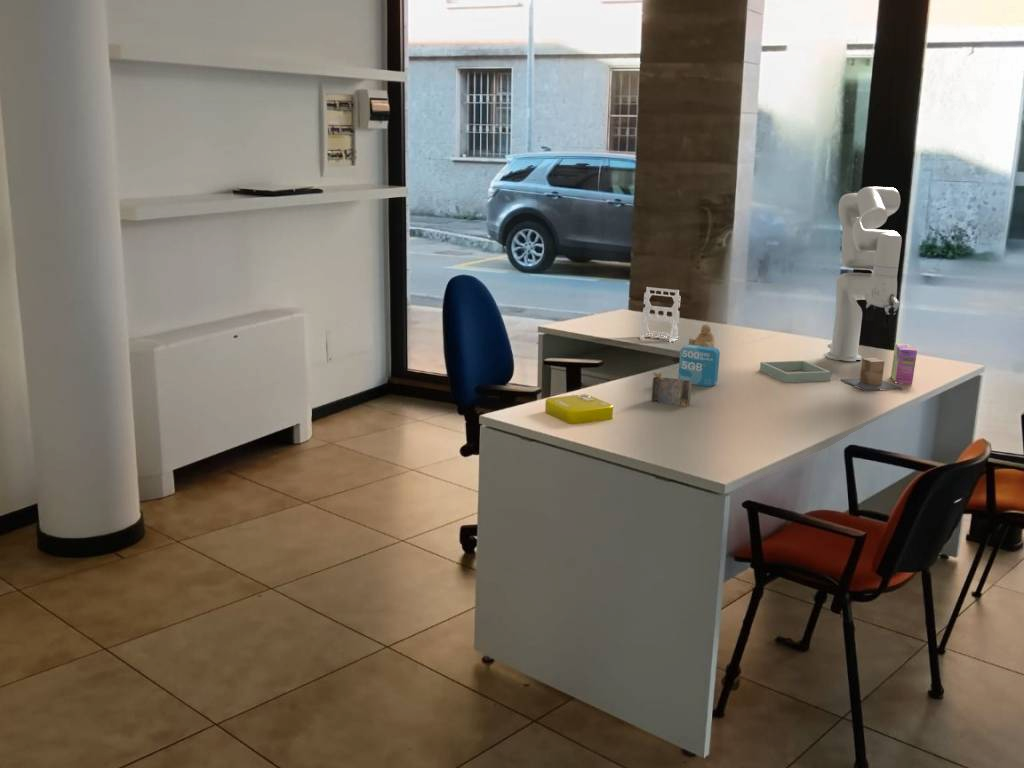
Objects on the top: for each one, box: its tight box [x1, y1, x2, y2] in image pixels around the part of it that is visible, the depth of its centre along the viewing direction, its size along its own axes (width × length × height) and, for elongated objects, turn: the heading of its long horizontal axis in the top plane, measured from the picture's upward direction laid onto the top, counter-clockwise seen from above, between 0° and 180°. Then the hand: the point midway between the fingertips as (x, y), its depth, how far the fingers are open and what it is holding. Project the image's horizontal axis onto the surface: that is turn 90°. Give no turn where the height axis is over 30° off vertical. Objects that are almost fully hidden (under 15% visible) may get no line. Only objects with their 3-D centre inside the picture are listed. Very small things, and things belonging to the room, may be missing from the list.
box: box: [890, 342, 918, 385], centre depth 356 cm, size 10×6×12 cm, turn 168°
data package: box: [677, 344, 721, 387], centre depth 342 cm, size 12×4×12 cm, turn 65°
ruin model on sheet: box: [650, 372, 693, 407], centre depth 317 cm, size 11×3×10 cm, turn 69°
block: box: [859, 357, 885, 385], centre depth 349 cm, size 5×5×8 cm
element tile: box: [544, 393, 614, 425], centre depth 301 cm, size 15×15×5 cm
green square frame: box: [759, 360, 832, 383], centre depth 359 cm, size 17×17×3 cm
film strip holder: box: [640, 286, 682, 342], centre depth 410 cm, size 14×14×20 cm
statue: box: [687, 323, 715, 348], centre depth 379 cm, size 12×14×10 cm
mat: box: [839, 377, 903, 391], centre depth 350 cm, size 14×14×1 cm
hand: (878, 323), depth 346 cm, fingers open, 9 cm apart
